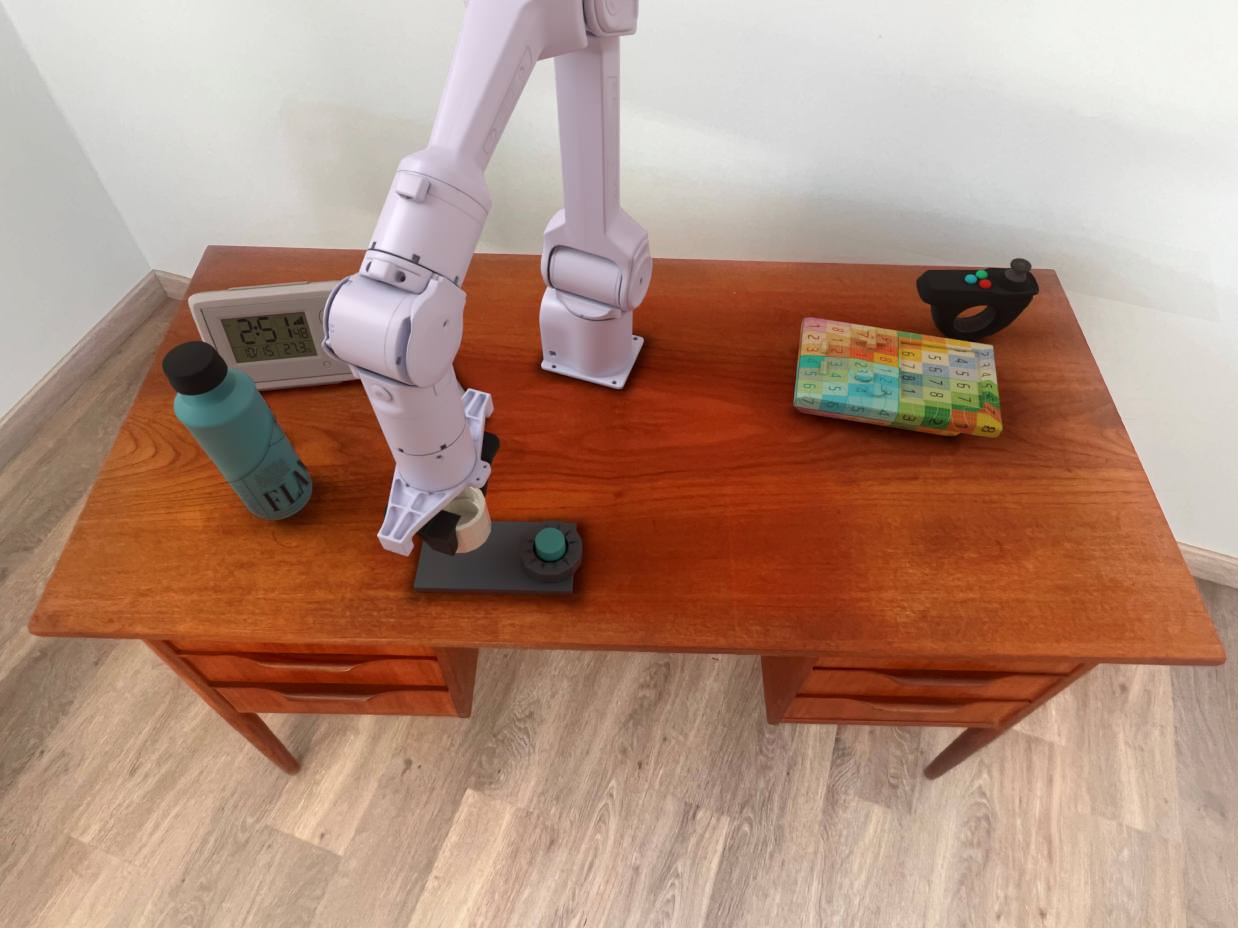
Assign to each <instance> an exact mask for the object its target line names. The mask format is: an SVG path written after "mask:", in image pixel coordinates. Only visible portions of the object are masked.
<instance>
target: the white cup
mask: <svg viewBox="0 0 1238 928" xmlns="http://www.w3.org/2000/svg"><path fill="white" fill-rule="evenodd" d="M442 510H445V511H448V512H451V513H455V514H458V515H461V518H460V520H459V521H458V523H457V526H456V536H457V541H458V549H457V551H456V553H466V552H470V551H472V550H475V549H477V548H479V547H480V546H481V545H482V544H483V543H484V542H485V541H486V540H487V538H488V536H489V534H490V532H491V521H492V519H491V516H490V513H489V509H488V505H487V501H486V497H485V498H484V496H483V493H482V491H481V490H480V489H479V488H473V487H467V488H465V489H464V490H463V491H462V492H461V493H460V494H459V495H458V496H456V497H455V498H454V499H453V500H452V501H451V502H450V503H448V504H447V505H446V506H445V507H444V508H443V509H442Z"/></svg>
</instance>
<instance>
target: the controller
mask: <svg viewBox="0 0 1238 928" xmlns="http://www.w3.org/2000/svg"><path fill="white" fill-rule="evenodd" d="M1032 268H1033V266H1032V263H1031V262H1030V261H1029V260H1028V259H1025V258H1023V257H1016V258H1013V259H1012V260H1011V261H1010V263H1009V267H1006V268H1005V267H987V268H985V269H927V270H926V271H924V272H923V273H922V274H921V275H920V276H918V277H917V278H916V280H915V287H916V290H917V291H916V292H917V294H918V296H919V299H920V300H921V301H922V302H923V303H924V304H927V305H930V314H931V318H932V321H933V324H934V325H935V327H936V329H937V330H938V331H939V332H940V333H941V334H943V335H944V336H946V337H948V338H949V339H954V340H961V341H975V340H980V339H984V338H988V337H990V336H993V335H995V334H997V333H999V332H1001V331H1003V330H1005V329H1006V328H1007V327H1009V326H1010V325H1012V323H1013V322H1015V321H1016V320H1017V319H1018V318H1019V316H1020V315H1021V314H1022V313H1023V312H1024V311H1025V310H1026V308H1028V307H1029V305H1030V304H1031V302H1032V301H1033V300H1034V296H1038V294H1039V293H1040V286H1039V283H1038V281H1037V278H1036V277H1035V276H1034V274H1033V273H1032V272H1031V271H1032ZM981 306H985V308H984V309H983V310H981V311H980V312H978V313H976V314H974V315H970V316H967V317H959V316H960V314H962V313H963V312H966V311H967V310H969V309H971V308H976V307H981Z"/></svg>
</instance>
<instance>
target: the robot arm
mask: <svg viewBox="0 0 1238 928" xmlns="http://www.w3.org/2000/svg"><path fill="white" fill-rule="evenodd" d="M639 1H640V0H463V2H464V6H465V13H464V17H463V20H462V24H461V27H460V30H459V34H458V38H457V41H456V45H455V48H454V51H453V55H452V60H451V62H450V66H449V70H448V74H447V77H446V80H445V83H444V87H443V91H442V93H441V94H442V95H441V98H440V101H439V105H438V109H437V112H436V116H435V120H434V122H433V127H432V130H431V133H430V137H429V141H428V144H427V146H426V147H425V148H424V149H423V148H422V149H421V150H418V151H416V152H414V153H411V154H409V155H407V156H405V157H404V158H402V159H401V160H400V161H399V164H398V167H397V170H396V173H395V175H394V178H393V180H392V182H391V186H390V188H389V191H388V194H387V196H386V199H385V201H384V204H383V207H382V209H381V211H380V215H379V217H378V220H377V222H376V225H375V228H374V231H373V233H372V236H371V239H370V242H369V244H368V247H367V249H366V251H365V254H364V257H363V260H362V262H361V265H360V267H359V271H358V272H356V273H354V274H352V275H348V276H346V277H344V278H342V279H341V281H340V282H339V283H338V284H337V285H336V286H335V288H334V289H333V290H332V292H331V294H330V295H329V298H328V300H327V302H326V305H325V309H324V315H323V328H324V333H325V339H324V340H323V342H322V347H323V349H324V351H325V352H326V353H327V355H328V356H329V357H331V358H332V359H334V360H336V361H339V362H342V363H345V364H348V365H349V367H350V369H351V371H352V373H353V376H354V377H355V378H358V379H357V380H360V381H361V383H362V386H363V388H364V391H365V393H366V396H367V398H368V400H369V403H370V404H371V406H372V410H373V412H374V415H375V416H376V419H377V421H378V423H379V426H380V428H381V431H382V433H383V435H384V437H385V440H386V442H387V445H388V447H389V449H390V452H391V454H392V457H393V458H394V461H395V469H394V473H393V479H392V482H391V489H390V493H389V498H388V502H387V503H386V505H385V506H384V507H383V512H382V514H383V515H382V516H383V517H384V520H383V523H382V525H381V527H380V528H379V531H378V533H377V535H376V536H377V539H378V540H379V542H380V544H381V546H382V548H383V549H384V550H386V551H389V552H392V553H395V554H398V555H401V556H405V557H409V556H410V555H411V553H412V550H413V549H414V547H415V544H414V543H413V537H414V536H416V537H418V538H420V539H421V540H422V541H423V540H424V541H425V542H426V543H427V544H428V545H429V546H430V547H431V548H432V549H433V550H435V551H438V552H441V553H444V554H447V555H450V556H454V555H455V553H456V551H457V549H458V541H457V536H456V526H457V523H458V521H459V520H460V518H461V515H458V514H455V513H451V512H448V511H445V510H442V509H443V508H444V507H445V506H446V505H447V504H448V503H450V502H451V501H452V500H453V499H454V498H455V497H456V496H458V495H459V494H460V493H461V492H462V491H463V490H464V489H465V488H467V487H473V488H479V489H480V490H481V491H482V493H483V496H484V498H485V499H486V497H487V492H488V485H489V478H490V475H491V473H492V468H491V467H492V464H493V461H494V458H495V457H496V455H497V453H498V451H499V450H500V447H501V440H500V438H499V436H498V435H496V434H495V433H492V432H490V431H487V430H485V425H486V419H487V418H490V417H491V415H492V413H493V412H494V410H495V408H494V403H493V398H492V394H491V393H488V392H484V391H481V390H476V389H473V388H470V387H469V388H467V390H466V391H465V394H464V395H463V397H462V398H461V395H460V391H459V387H458V384H457V381H458V379H457V376H456V373H455V369H454V366H453V362H454V361H455V358H456V356H457V353H458V351H459V349H460V347H461V342H462V338H463V330H464V310H465V307H466V303H467V300H466V299H467V293H466V291H464V290H463V289H462V285H463V283H464V281H465V278H466V275H467V273H468V269H469V268H470V264H471V262H472V259H473V257H474V254H475V251H476V248H477V245H478V243H479V240H480V238H481V235H482V232H483V229H484V227H485V224H486V221H487V219H488V216H489V214H490V211H491V208H492V204H493V199H492V196H491V193H490V190H489V186H488V185H487V182H486V179H485V171H486V169H487V167H488V165H489V163H490V160H492V159H491V158H492V156H493V154H494V153H495V150H496V148H497V146H498V144H499V141H500V140H501V138H502V135H503V133H504V131H505V129H506V127H507V125H508V123H509V121H510V119H511V116H512V115H513V112H514V110H515V109H516V107H517V104H518V103H519V101H520V97H521V96H522V94H523V91H524V89H525V87H526V85H527V83H528V81H529V79H530V77H531V75H532V73H533V70H534V68H535V66H536V64H537V62H540V61H544V60H548V59H551V58H553V67H554V69H553V70H554V81H555V84H554V85H555V97H556V98H555V99H556V110H557V124H558V127H557V128H558V138H559V139H558V140H559V156H560V166H561V167H560V168H561V183H562V196H563V208H561V209H559V210H558V211H557V212H556V213H555V214H554V215H553V216H552V217H551V219H550V220H549V222H548V224H547V225H546V227H545V229H544V231H543V248H542V253H541V258H540V274H541V277H542V280H543V282H544V284H545V286H546V289H545V291H544V293H543V296H542V298H541V303H540V309H539V318H538V319H539V330H540V332H539V333H540V339H541V348H542V355H543V356H542V357H543V360H542V362H541V364H540V366H541V369H542V370H544V371H548V372H552V373H556V374H559V375H562V376H567V377H570V378H573V379H578V380H582V381H585V382H589V383H593V384H595V385H596V384H597V385H600V386H605V387H608V388H612V389H615V390H621V389H623V388H624V386H625V384H626V382H627V380H628V378H629V375H630V373H631V371H632V368H633V367H634V364H635V362H636V361H637V358H638V356H639V353H640V351H641V349H642V347H643V345H644V341H645V339H644V338H643V337H642V336H639V335H635V334H634V335H633V321H634V320H633V318H634V317H633V316H634V315H633V313H634V312H633V311H634V310H635V309H637V308H638V307H639V306H641V304H642V303H643V300H644V298H645V296H646V294H647V292H648V289H649V286H650V282H651V279H652V273H653V257H652V255H651V252H650V241H649V232H648V230H646V229H645V227H643V226H642V225H641V224H640V223H639V222H638V221H637V220H636V219H635V218H633V217H632V216H631V215H630V214H629V213H628V212H627V211H625V210H624V209H623V207H622V206H621V161H620V160H621V37H625V36H633V35H635V34H636V32H637V29H638V18H639V7H640V2H639ZM456 379H457V380H456Z"/></svg>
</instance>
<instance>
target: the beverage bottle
mask: <svg viewBox="0 0 1238 928" xmlns="http://www.w3.org/2000/svg"><path fill="white" fill-rule="evenodd" d="M161 368H162V371H163V373H164V375H165V376H166V378H167V380H168V383H169V385H170V386H171V388H172V389H173V390H174V391H175V392H176V394H175V398H174V400H173V412H174V414H175V416H176V418H177V419H178V420H179V422H180V423H181V424H182V425H184V427H185V429H186V430H188V432H189V433H190V435H191V436H192V437H193V439H194V440H195V441H196V443H198V445H199V446H200V447H201V449H202V450H203V451H204V453H205V454H206V455H207V456H208V458H209V459H210V460H211V461H212V463H213V464H214V465H215V467H216V469H217V470H218V471H219V473H220V474H221V475H222V477H223V478H224V479H225V481H226V482H227V484H228V485H229V486H230V488H231V489H232V491H233V492H234V493H235V495H236V496H237V497H238V498H239V500H240V501H241V502H242V504H243V505H244V507H245V508H246V509H247V510H248V512H249V513H250V514H251V515H252V516H254V517H256V518H260V519H262V520H268V521H278V520H283V519H287V518H290V517H291V516H294V515H296V514H297V513H298V512H301V510H302V509H303V508H304V507H305V506H306V505H307V504H308V502H309V500H310V499H311V497H312V493H313V485H314V481H313V480H314V479H313V478H312V474H310V473H311V472H310V470H309V469H308V467H307V466H306V465H305V464H304V460H302V456H300V454H299V452H298V451H296V447H295V445H294V444H293V443H292V442H291V441H290V440H291V438H290V437H289V436H287V431H284V428H283V426H281V424H280V422H281V421H280V420H279V418H278V417H277V416H276V413H275V411H274V410H273V409H272V408H271V405H270V404H269V403H267V401H266V399H264V397H263V396H264V393H263V394H262V393H260V391H259V390H258V389H257V388H256V386H255V383H254V381H253V380H252V378H251V377H250V376H249V375H248V374H246V373H245V372H243V371H241V370H238V369H234V368H228V367H227V364H226V362H225V361H224V359H223V358H222V357H221V356H220V355H219V354H218V352H217V351H216V350H215V348H214V347H213V346H211V345H210V344H208V343H206V342H203V341H202V340H191V341H190V340H189V341H185V342H183V343H180V344H178V345H176V346H175V347H173V348H172V349H170V350H169V351H168V352H167V353H166V354H165V356H164V357H163V359H162V362H161Z"/></svg>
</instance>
